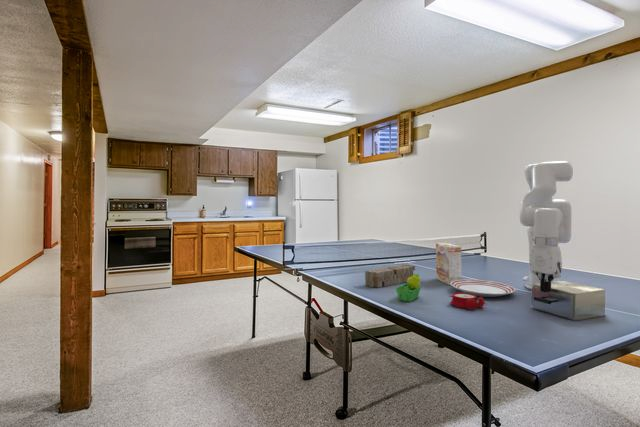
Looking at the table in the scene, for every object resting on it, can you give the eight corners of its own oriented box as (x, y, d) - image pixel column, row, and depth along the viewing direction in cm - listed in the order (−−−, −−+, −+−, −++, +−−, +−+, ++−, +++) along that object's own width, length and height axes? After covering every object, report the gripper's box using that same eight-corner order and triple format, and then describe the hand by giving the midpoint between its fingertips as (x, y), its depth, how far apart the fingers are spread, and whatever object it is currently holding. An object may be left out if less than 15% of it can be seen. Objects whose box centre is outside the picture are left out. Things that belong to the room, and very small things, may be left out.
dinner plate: (505, 286, 178) (505, 279, 178) (524, 301, 151) (524, 293, 151) (446, 284, 184) (446, 278, 183) (455, 298, 157) (455, 291, 157)
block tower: (375, 290, 177) (416, 280, 194) (375, 273, 177) (415, 264, 193) (365, 287, 184) (404, 277, 200) (364, 270, 183) (404, 262, 200)
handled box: (561, 320, 125) (561, 297, 125) (522, 308, 139) (522, 287, 139) (598, 313, 132) (599, 292, 131) (558, 302, 146) (558, 283, 146)
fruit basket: (405, 294, 164) (405, 270, 164) (424, 297, 159) (424, 272, 159) (395, 300, 155) (394, 274, 155) (415, 303, 150) (414, 276, 150)
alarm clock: (460, 291, 155) (490, 290, 142) (463, 306, 154) (494, 306, 141) (443, 294, 150) (472, 293, 137) (445, 309, 149) (475, 310, 136)
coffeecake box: (435, 278, 197) (435, 243, 197) (448, 278, 198) (448, 242, 197) (448, 285, 182) (448, 246, 182) (461, 284, 183) (461, 246, 182)
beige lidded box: (575, 320, 126) (575, 293, 126) (532, 308, 142) (532, 283, 142) (604, 315, 132) (605, 289, 132) (560, 303, 147) (560, 280, 147)
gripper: (520, 240, 139) (520, 288, 140) (557, 244, 125) (557, 297, 125) (535, 239, 141) (535, 286, 142) (573, 243, 127) (572, 295, 128)
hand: (545, 291), depth 134 cm, fingers closed
